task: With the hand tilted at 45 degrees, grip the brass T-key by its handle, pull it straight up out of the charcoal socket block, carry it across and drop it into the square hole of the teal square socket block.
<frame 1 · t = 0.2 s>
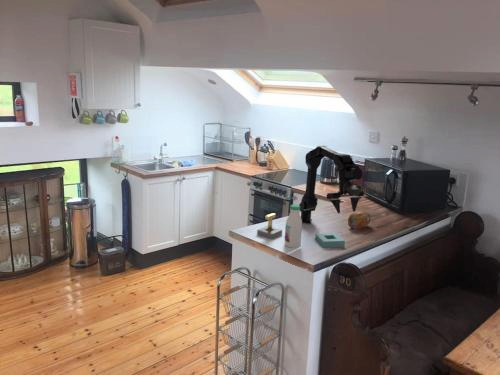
hand: (346, 212, 210), 15 cm above the countertop, tool pointing down, fingers open, 9 cm apart
charcoal socket block: (269, 235, 218), on the countertop
tin: (358, 227, 238), on the countertop
milk bottle: (292, 246, 206), on the countertop
brass T-key: (269, 234, 218), resting on charcoal socket block
teal square socket block: (329, 242, 212), on the countertop
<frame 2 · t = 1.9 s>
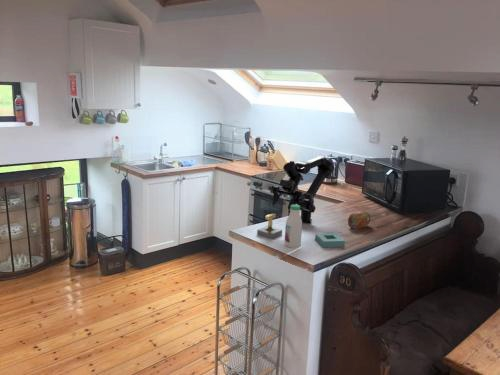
hand: (280, 206, 221), 13 cm above the countertop, tool tilted 45°, fingers open, 9 cm apart
nothing on the countertop moved.
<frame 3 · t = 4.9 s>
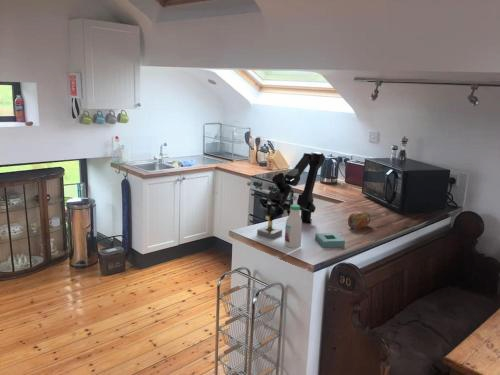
hand: (268, 219, 215), 9 cm above the countertop, tool tilted 45°, fingers closed on brass T-key, 2 cm apart
brass T-key: (269, 234, 218), point 1 cm above the countertop, touching charcoal socket block, gripper
everything else where it was.
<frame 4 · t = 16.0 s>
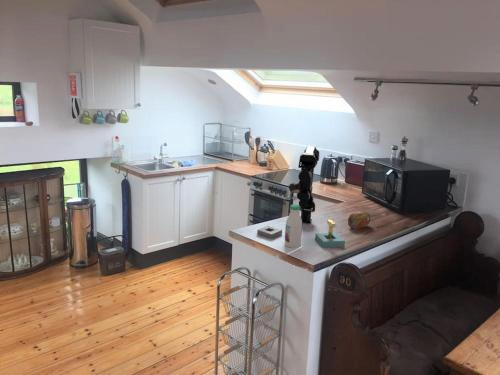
hand: (303, 207, 223), 13 cm above the countertop, tool pointing down, fingers open, 9 cm apart
brass T-key: (329, 241, 212), resting on teal square socket block
everything else where it was.
at the end: brass T-key 0.0 cm off-centre on the teal square socket block, point 0.5 cm above the teal square socket block's base; brass T-key tilted 0°; the gripper is holding nothing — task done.
